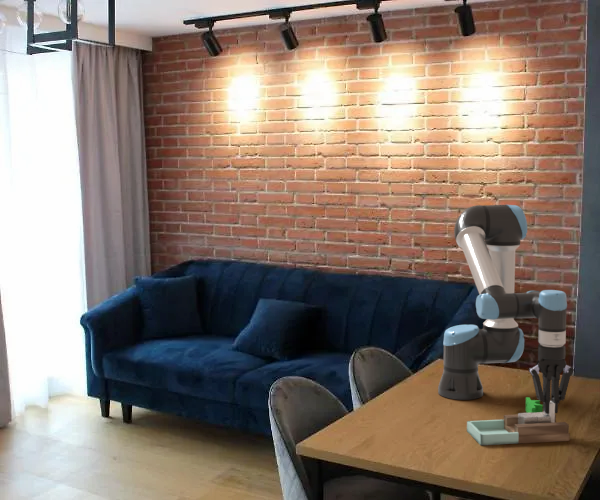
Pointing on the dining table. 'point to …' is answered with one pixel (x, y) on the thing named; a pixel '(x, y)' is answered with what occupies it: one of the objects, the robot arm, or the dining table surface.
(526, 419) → the chip
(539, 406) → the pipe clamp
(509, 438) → the tray
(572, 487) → the dining table surface
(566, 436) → the slot board
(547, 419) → the chip
